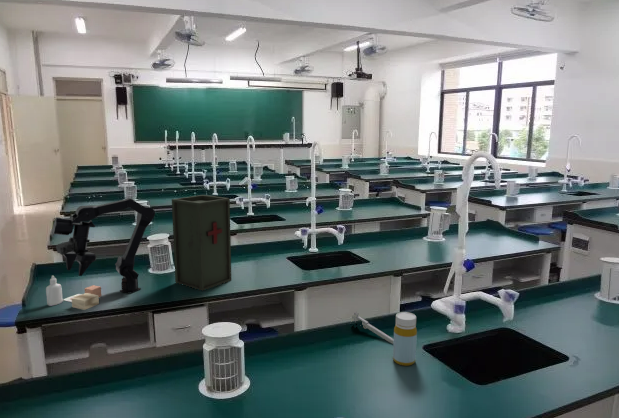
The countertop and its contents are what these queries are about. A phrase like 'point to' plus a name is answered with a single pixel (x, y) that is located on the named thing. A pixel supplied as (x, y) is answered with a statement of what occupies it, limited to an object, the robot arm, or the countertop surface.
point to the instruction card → (71, 298)
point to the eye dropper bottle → (54, 293)
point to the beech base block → (85, 301)
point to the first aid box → (202, 241)
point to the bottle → (405, 339)
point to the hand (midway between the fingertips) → (74, 272)
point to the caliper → (371, 327)
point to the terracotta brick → (93, 290)
